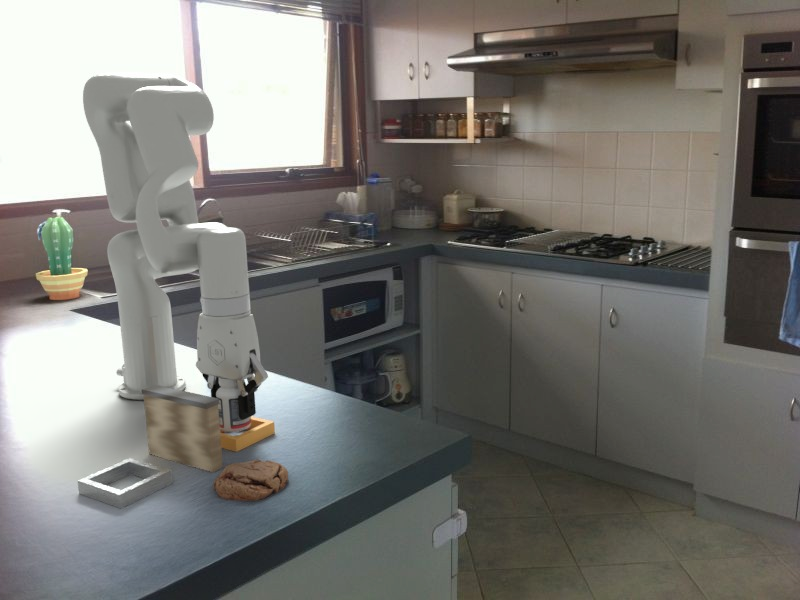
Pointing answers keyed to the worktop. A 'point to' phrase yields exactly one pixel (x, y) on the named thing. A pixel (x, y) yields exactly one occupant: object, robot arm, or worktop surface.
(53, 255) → the potted cactus
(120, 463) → the collar
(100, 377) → the worktop surface
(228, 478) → the cookie
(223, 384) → the pill bottle
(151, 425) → the beige brown upright block
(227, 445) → the collar
